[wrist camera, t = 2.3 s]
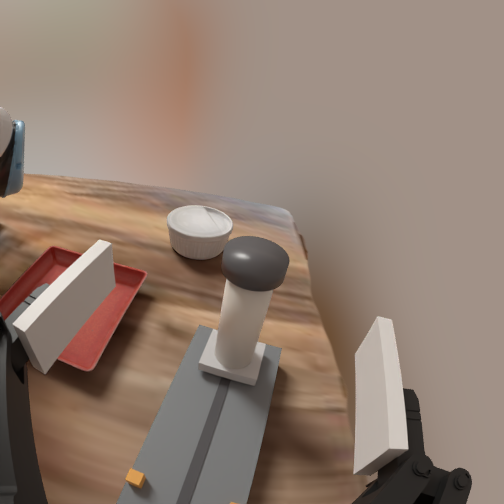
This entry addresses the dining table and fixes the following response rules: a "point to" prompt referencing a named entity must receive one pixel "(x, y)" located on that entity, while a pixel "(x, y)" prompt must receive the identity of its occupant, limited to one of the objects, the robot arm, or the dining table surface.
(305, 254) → the dining table surface
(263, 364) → the fader console
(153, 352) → the dining table surface
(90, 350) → the plant saucer
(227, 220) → the ramekin
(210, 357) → the handle
